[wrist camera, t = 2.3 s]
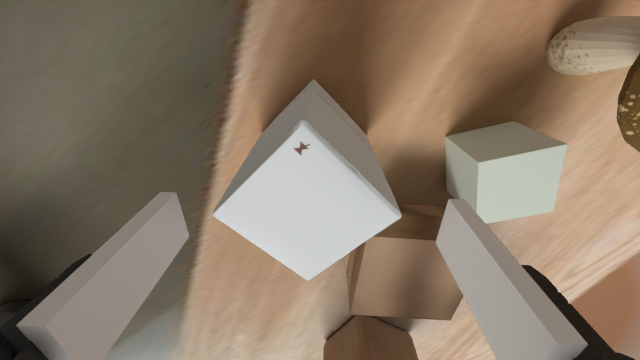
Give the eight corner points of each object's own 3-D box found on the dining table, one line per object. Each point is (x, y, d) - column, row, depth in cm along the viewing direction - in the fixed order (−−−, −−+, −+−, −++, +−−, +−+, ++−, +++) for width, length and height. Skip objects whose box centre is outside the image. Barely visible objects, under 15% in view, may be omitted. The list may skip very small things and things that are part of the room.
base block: (346, 270, 33) (350, 314, 28) (358, 199, 28) (367, 236, 23) (430, 276, 33) (450, 320, 28) (458, 206, 28) (489, 244, 23)
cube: (446, 189, 27) (476, 225, 22) (444, 136, 24) (478, 162, 19) (507, 177, 26) (553, 211, 21) (512, 120, 23) (567, 144, 18)
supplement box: (258, 134, 24) (203, 213, 13) (314, 76, 22) (304, 113, 11) (313, 183, 27) (306, 285, 16) (369, 136, 24) (407, 218, 13)
